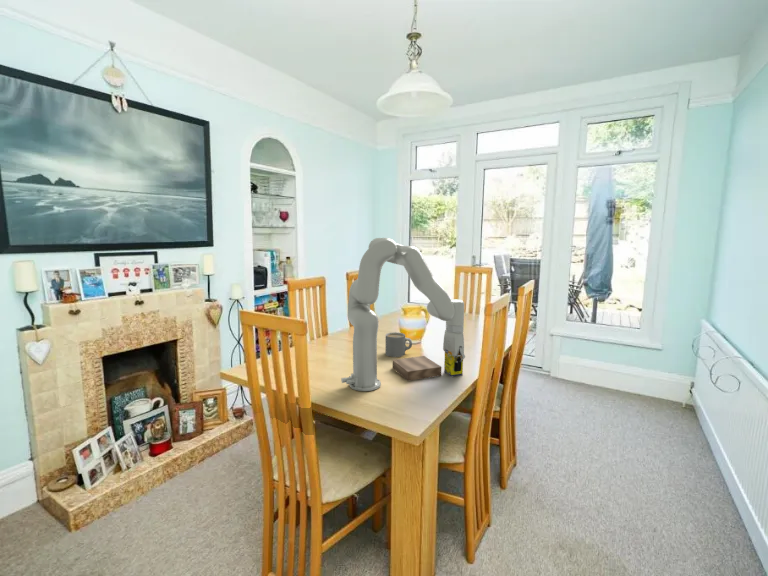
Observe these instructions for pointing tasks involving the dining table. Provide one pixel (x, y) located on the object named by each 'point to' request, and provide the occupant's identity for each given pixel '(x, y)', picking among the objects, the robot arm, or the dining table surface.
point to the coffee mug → (396, 344)
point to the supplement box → (451, 364)
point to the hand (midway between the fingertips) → (453, 368)
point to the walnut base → (416, 368)
